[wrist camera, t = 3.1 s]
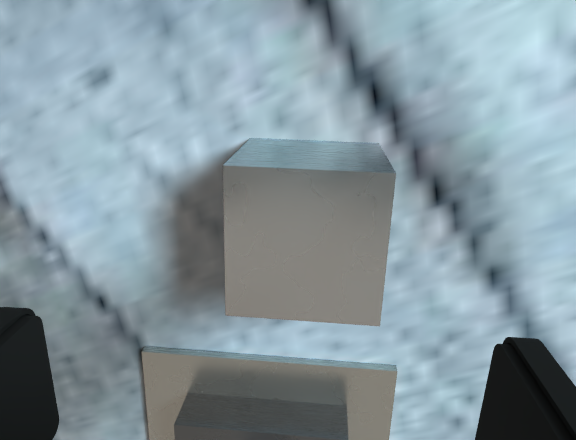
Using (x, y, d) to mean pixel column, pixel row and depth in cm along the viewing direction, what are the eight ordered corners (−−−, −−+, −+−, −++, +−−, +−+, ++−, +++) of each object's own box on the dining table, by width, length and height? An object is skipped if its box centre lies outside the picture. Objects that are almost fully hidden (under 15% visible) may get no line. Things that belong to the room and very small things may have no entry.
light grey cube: (378, 143, 22) (396, 173, 16) (368, 262, 24) (380, 326, 18) (250, 137, 22) (222, 165, 16) (250, 255, 24) (225, 315, 18)
